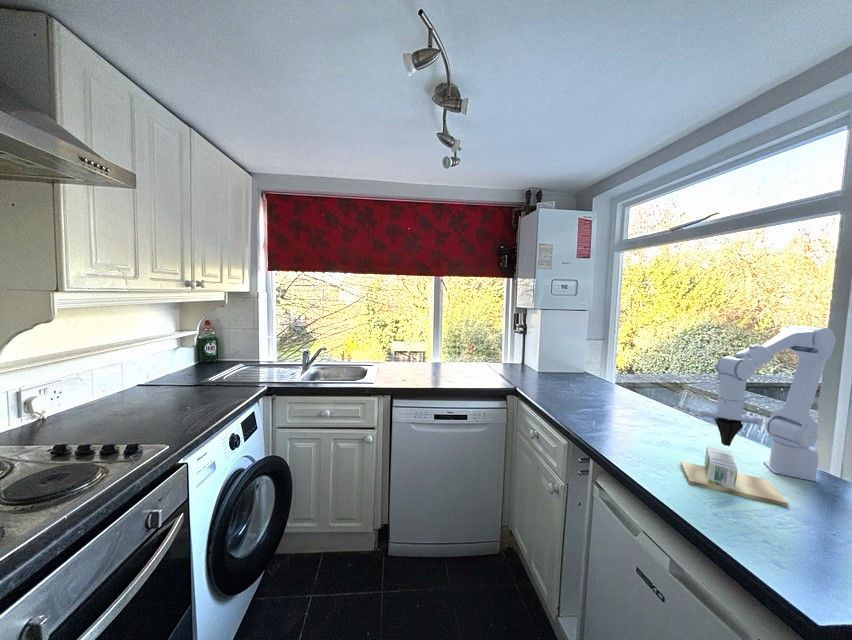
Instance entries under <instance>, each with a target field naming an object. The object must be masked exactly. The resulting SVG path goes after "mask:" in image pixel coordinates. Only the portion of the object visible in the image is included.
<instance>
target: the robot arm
mask: <svg viewBox="0 0 852 640" xmlns="http://www.w3.org/2000/svg"><path fill="white" fill-rule="evenodd" d="M836 341H837V338H836V336H835V334H834V331H832V329H830V328H828V327H817V326H816V327H815V326H814V327H813V326H803V325H802V326H801V325H794V324H787V325H784V326H783V327H781V328H780V329H779V331H778V334H776V335H775V336H773V337H772V338H770V339H768V340H767V341H766V342H764V343H763V344H753V343H752V344H749V345H748V346H747V347H746V348H745V349H743V350H740V351H739V352H736V353H735V354H733V355H732V356H730V355H729V356H728V355H727V356H724V357H721V358H719V360H718V361H717V363H716V364H715V372H717V379H718V381H719V384H718V385H719V386H718V394H717V402H716V409H705V408H703V409H702V408H697V413H696V415H697V416H698V417H699V418H710V419H714V421H715V424H716V426H717V428H718V432H719V435H720V442H721V444H722V445H723V446H727V447H731V444H732V442H733V440H734V438H735V437H736V435H737V434H738V433H739V431H740V430H742V429H743V428H744V427H743V426H744V423H746V424H752V425H757V426H763V418H762V417H760V416H756V415H755V416H754V415H749V414H746V413H744V405H745V396H746V395H745V394H746V388H747V380H748V379H750V378H752V377H753V375H754V373H755V372H756V371H757V370H758V368H760V367H762V366H765V365H766V364H767V363H769V362H771V361H772V359H773V357H772V356H774V355H775V354H777V353H781V352H782V351H785V350H787V349H788V350H789V351H790V352H792V354H796V356H797V357H798V362H797V366H796V368H795V372H794V376H793V378H792V382H791V385H790V387H789V390H788V394H787V395H786V396H787V397H786V400H785V403H784V406H783V407H782V408H780V409H777V410H773V411H772V413H771V415H770V417H769V418H768V419H767V420H766V423H765V431H766V432H767V434H768V435H769V439H771V447H770V456H769V461H766V460H763V464H764V465H766V467H767V468H768V470H770V471H771V472H772V473H773V474H778V475H782V476H786V475H787V477H792V478H797V479H801V480H806V481H813V482H818V479H817V473H818V465H819V454H818V451H817V449H816V448H815V447H813V446H814V445H815V444H816V443H817V441H818V427H819V424H818V423H817V422H816V421H815V420H814V419H813V418H812V417H811V416H810V415H809V414H810V411H811V408H812V405H813V402H814V400H815V396H816V392H817V390H818V387H819V384H820V380H821V378H822V375H823V372H824V368H825V366H826V363H827V359H829V358H831V356H832V353H833V350H834V347H835V344H836ZM742 423H743V424H742Z"/></svg>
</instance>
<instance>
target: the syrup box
mask: <svg viewBox="0 0 852 640" xmlns="http://www.w3.org/2000/svg"><path fill="white" fill-rule="evenodd" d="M733 455H734V454H733V453H732V451H731V450H728V449H723V448H719V447H716V446H715V447H714V446H710V445H707V447H706V450H705V457H704V466H705V468H706V474H707V480H708V482H709V483H712V484H716V485H719V486H722V487H726V488H730V489H733V490H734V488H735V483H736V478H737V473H738V471H739V470H738V466H737V464H736V461H735V458H734V456H733Z"/></svg>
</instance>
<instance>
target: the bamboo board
mask: <svg viewBox="0 0 852 640" xmlns="http://www.w3.org/2000/svg"><path fill="white" fill-rule="evenodd" d="M680 464H681V465H680V467H681V466H682V467H681V470H682V471H683V473H685V474H684V476H685V478H686V481H687V482H689V483H688V484H689V485H691V484H692V485H691V486H696V485H697V486H696V487H700V486H701V487H700V488H705V489H708V488H709V490H713V491H718V492H722V493H726V494H730V495H735V496H739V497H743V498H748V499H752V500H756V501H761V502H764V503H770V504H772V505H773V504H774V505H778V506H782V507H785V508H786V507H787V508H788V507H789V502H788V501H787V500H786V499H785V498H784V496H783V495H782V494H781V493H780V492H779V491H778V490H777V489H776V488H775V486H773V484H772V483H771V482H770V480H768V479H767V478H763V477H762V478H761V477H757V476H752V475H748V474H743V473H739V472H737V478H736V483H735V488H734V490H733V489H730V488H726V487H722V486H719V485H716V484H712V483H709V482H708V480H707V474H706V468H705V465H699V464H696V463H691V462H690V463H689V462H687V461H680Z"/></svg>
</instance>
